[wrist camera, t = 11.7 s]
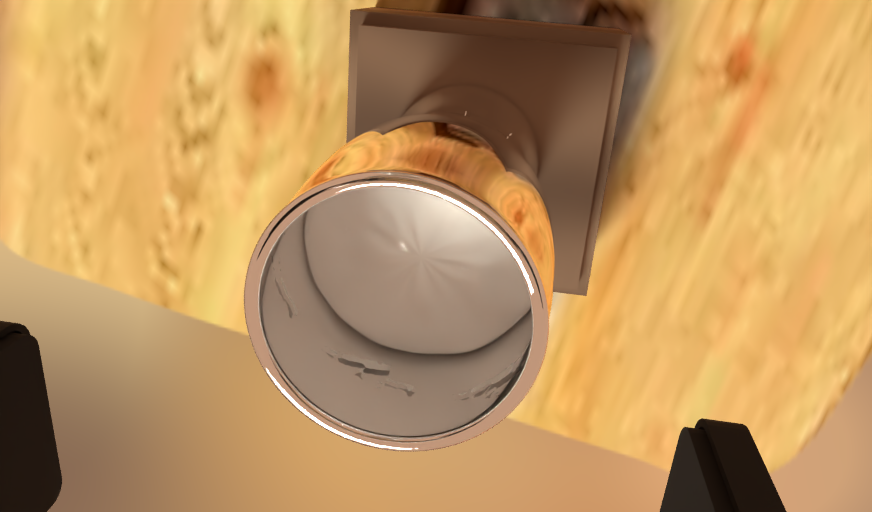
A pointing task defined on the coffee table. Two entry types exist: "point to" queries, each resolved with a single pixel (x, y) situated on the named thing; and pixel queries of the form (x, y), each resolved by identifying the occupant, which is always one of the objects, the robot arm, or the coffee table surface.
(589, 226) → the plinth
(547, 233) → the beer glass
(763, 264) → the coffee table surface
